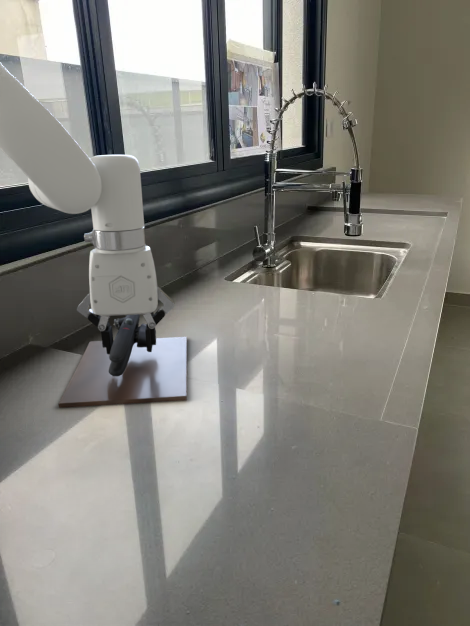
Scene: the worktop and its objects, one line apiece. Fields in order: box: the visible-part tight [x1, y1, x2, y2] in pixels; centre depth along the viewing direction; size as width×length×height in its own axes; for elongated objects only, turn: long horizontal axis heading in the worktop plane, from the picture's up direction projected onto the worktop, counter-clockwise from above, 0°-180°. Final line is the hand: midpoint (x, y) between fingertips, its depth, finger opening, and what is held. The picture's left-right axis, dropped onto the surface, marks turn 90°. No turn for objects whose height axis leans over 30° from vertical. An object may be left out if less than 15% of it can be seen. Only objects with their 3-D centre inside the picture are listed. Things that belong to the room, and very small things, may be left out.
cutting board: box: [57, 336, 188, 409], centre depth 82 cm, size 18×24×2 cm
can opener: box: [109, 314, 157, 377], centre depth 80 cm, size 18×7×6 cm, turn 178°
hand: (130, 349), depth 81 cm, fingers closed on can opener, 5 cm apart
